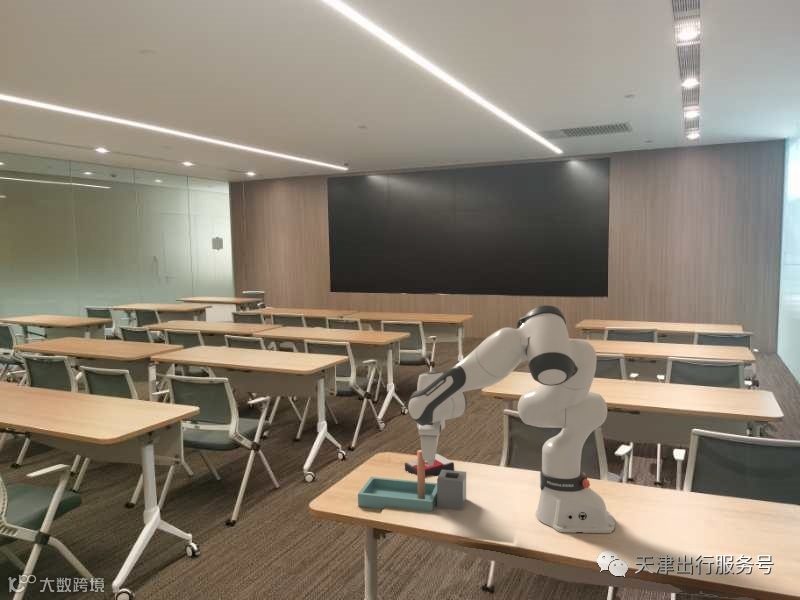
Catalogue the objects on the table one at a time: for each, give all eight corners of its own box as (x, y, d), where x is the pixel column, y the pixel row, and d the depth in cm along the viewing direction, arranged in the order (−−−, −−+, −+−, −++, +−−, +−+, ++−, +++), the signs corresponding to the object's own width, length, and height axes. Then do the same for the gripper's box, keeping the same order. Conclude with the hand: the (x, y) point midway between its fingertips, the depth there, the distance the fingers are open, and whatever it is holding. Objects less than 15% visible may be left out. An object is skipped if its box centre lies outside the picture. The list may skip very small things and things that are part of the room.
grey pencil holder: (466, 501, 178) (466, 471, 177) (462, 513, 170) (462, 481, 169) (441, 499, 180) (441, 469, 179) (437, 510, 172) (437, 479, 171)
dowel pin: (424, 497, 178) (424, 449, 177) (425, 501, 176) (425, 452, 175) (417, 498, 178) (416, 450, 177) (418, 501, 176) (417, 452, 174)
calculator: (404, 461, 204) (437, 451, 212) (404, 472, 205) (438, 462, 212) (419, 471, 195) (454, 460, 202) (420, 482, 195) (454, 472, 203)
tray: (440, 495, 183) (440, 483, 182) (432, 514, 169) (432, 501, 169) (371, 488, 189) (371, 476, 188) (358, 506, 175) (357, 493, 175)
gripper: (423, 412, 185) (423, 452, 186) (418, 431, 164) (418, 476, 165) (442, 412, 184) (442, 453, 185) (439, 432, 164) (439, 477, 165)
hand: (431, 464), depth 175 cm, fingers closed
